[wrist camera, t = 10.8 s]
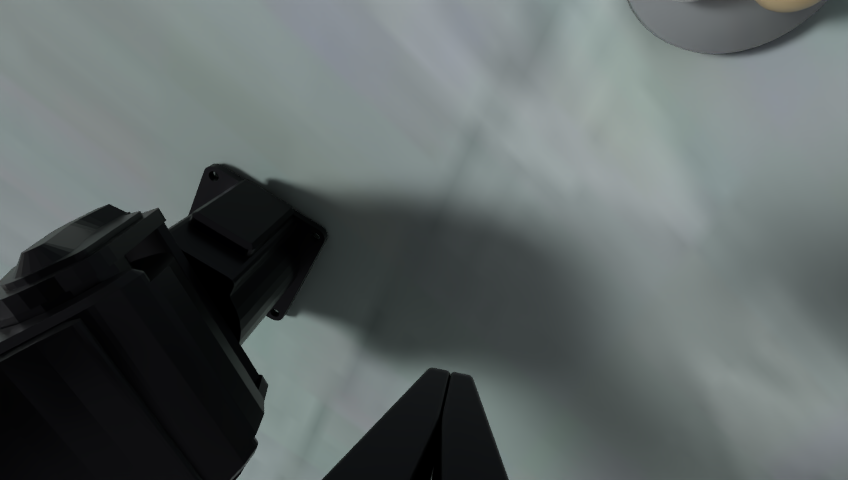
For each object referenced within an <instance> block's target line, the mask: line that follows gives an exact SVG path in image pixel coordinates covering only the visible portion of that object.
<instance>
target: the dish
mask: <svg viewBox="0 0 848 480" xmlns="http://www.w3.org/2000/svg"><path fill="white" fill-rule="evenodd" d="M627 1H628V3H629V6H630V8H631V9H632V11H633V13H634V14H635V16H636V17H637V19H638V20H639V21H640V22H641V23H642V24H643V25H644V27H645V28H646V29H647V30H649V31H650V32H651V33H652V34H654V35H655V36H656V37H658V38H660V39H661V40H663V41H665V42H667V43H669V44H671V45H674V46H677V47H679V48H682V49H685V50H689V51H693V52H698V53H708V54H722V53H732V52H738V51H743V50H747V49H751V48H754V47H758V46H760V45H763V44H765V43H768V42H770V41H772V40H775V39H776V38H778V37H780V36H782V35H784V34H786V33H788V32H789V31H791V30H792V29H794V28H795V27H797V26H798V25H800V24H802V23H803V22H804V21H806V20H807V19H808V18H809V17H810V16H812V15H813V14H814V13H815V12H817V11H818V10H819V9H820V8H821V7H822V6H823V5H824V4H825V3H826V2H827V1H828V0H627Z"/></svg>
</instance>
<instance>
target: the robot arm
mask: <svg viewBox="0 0 848 480" xmlns="http://www.w3.org/2000/svg"><path fill="white" fill-rule="evenodd" d="M213 172H216V173H217V174H218V176H219V179H218V178H216V177H215V176H214V173H213ZM165 221H166V219H165V218H164V216H163V214H162V213H161V211H160V209H159V208H156V209H153V210H150V211H147V212H144V213H141V212H140V211H138V212H134V213H130V212H128V213H127V212H124V211H122V210H120V209H118V208H116V207H114V206H112V205H110V204H108V205H105V206H103V207H100V208H97V209H95V210H93V211H91V212H89V213H87V214H85V215H83V216H81V217H79V218H77V219H75V220H73V221H71V222H69V223H67V224H65V225H64V226H62V227H60V228H58V229H56V230H54V231H53V232H51V233H50V234H48V235H47V236H45V237H44V238H42V239H41V240H39V241H38V242H36V243H35V244H34V245H32V246H31V247H29V248H28V249H26V250H25V251H23V252H22V253H21V255H20V258H19V261H18V264H17V266H15V267H14V268H12V269H11V270H10V271H9V272H8V273H7V274H6V275H5V276H4V277H3V278H2V279H1V280H0V480H236V479H237V478H238V476H239V475H240V474H241V472H242V470H243V469H244V467H245V466H246V464H247V463H248V461H249V460H250V458H251V457H252V456H253V454H254V453H255V450H256V448H257V446H258V441H257V440H256V438H255V435H256V433H257V431H258V428H259V426H260V423H261V421H262V418H263V415H264V400H265V396H266V392H267V388H268V384H267V382H266V381H265V379H264V377H263V376H262V375H259V374H258V373H257V371H256V369H255V368H254V366H253V364H252V363H251V361H250V360H249V358H248V356H247V355H246V353H245V352H244V350H243V348H242V347H241V345H242V344H243V343H244V341H245V340H246V339H247V338H248V337H249V335H250V334H251V333H252V332H253V330H254V329H255V328H256V327H257V326H258V324H259V323H260V322H261V321H262V319H263V318H264V317H265V316H267V317H269V318H271V319H273V320H281V319H282V318H283V317H284V316H285V314H286V313H287V311H288V309H289V307H290V306H291V304H292V302H293V300H294V298H295V296H296V295H297V293H298V291H299V289H300V287H301V286H302V284H303V282H304V280H305V278H306V276H307V275H308V273H309V271H310V269H311V267H312V266H313V264H314V262H315V260H316V258H317V256H318V255H319V253H320V251H321V249H322V247H323V246H324V244H325V242H326V240H327V237H328V235H327V231H326V230H325V229H324V228H323V227H322V226H320V225H319V224H317V223H316V222H314V221H312V220H311V219H309V218H307V217H306V216H304V215H302V214H301V213H299V212H297V211H296V210H294V209H293V208H292V207H291V206H290V205H289V204H287V203H285V202H284V201H282V200H280V199H279V198H277V197H275V196H274V195H272V194H271V193H269V192H267V191H266V190H264V189H262V188H261V187H259V186H257V185H256V184H254V183H252V182H251V181H249V180H245V179H243V178H242V177H240V176H238V175H237V174H235V173H233V172H232V171H230V170H228V169H227V168H225V167H223V166H222V165H219V164H213V165H211V166H209V167H207V168H206V169H205V170H204V173H203V176H202V179H201V181H200V184H199V187H198V190H197V193H196V196H195V198H194V201H193V204H192V207H191V210H190V213H189V215H188V216H187V217H186V218H184V219H183V220H181V221H179V222H178V223H176V224H175V225H173V226H172V227H170V228H169V229H168V228H167V226H166V225H165V223H164V222H165ZM313 233H316V234H318V235H319V237H320V239H318V238H315V237H314V235H313ZM274 309H276V310H278V311H279V312H276V311H275V310H274ZM432 473H433V474H432ZM431 478H432V480H509V479H508V476H507V474H506V471H505V468H504V465H503V462H502V459H501V457H500V454H499V451H498V448H497V445H496V442H495V439H494V437H493V434H492V431H491V428H490V425H489V422H488V420H487V417H486V414H485V411H484V408H483V405H482V403H481V400H480V397H479V394H478V391H477V388H476V386H475V383H474V380H473V378H472V377H471V376H470V375H466V374H461V373H456V372H453V373H451V375H450V373H449V371H447V370H442V369H437V368H429V369H428V370H427V371H426V372H425V373H424V374H423V375H422V376H421V377H420V378H419V379H418V380H417V381H416V382H415V383H414V384H413V385H412V386H411V387H410V388H409V389H408V390H407V392H406V393H405V394H404V395H403V396H402V397H401V398H400V399H399V400H398V401H397V402H396V403H395V404H394V405H393V406H392V407H391V408H390V409H389V410H388V411H387V412H386V413H385V414H384V415H383V417H382V418H381V419H380V420H379V421H378V422H377V423H376V424H375V425H374V426H373V427H372V428H371V429H370V430H369V431H368V432H367V433H366V434H365V435H364V436H363V437H362V438H361V439H360V441H359V442H358V443H357V444H356V445H355V446H354V447H353V448H352V449H351V450H350V451H349V452H348V453H347V454H346V455H345V456H344V457H343V458H342V459H341V460H340V461H339V462H338V463H337V465H336V466H335V467H334V468H333V469H332V470H331V471H330V472H329V473H328V474H327V475H326V476H325V477H324V478H323V479H322V480H431Z"/></svg>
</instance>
